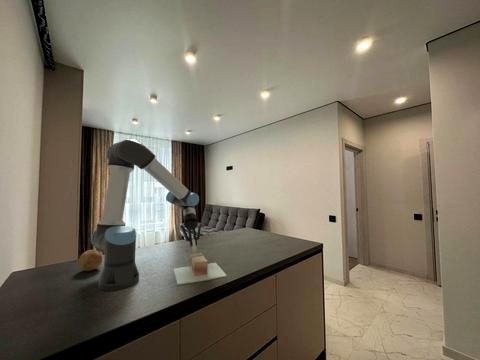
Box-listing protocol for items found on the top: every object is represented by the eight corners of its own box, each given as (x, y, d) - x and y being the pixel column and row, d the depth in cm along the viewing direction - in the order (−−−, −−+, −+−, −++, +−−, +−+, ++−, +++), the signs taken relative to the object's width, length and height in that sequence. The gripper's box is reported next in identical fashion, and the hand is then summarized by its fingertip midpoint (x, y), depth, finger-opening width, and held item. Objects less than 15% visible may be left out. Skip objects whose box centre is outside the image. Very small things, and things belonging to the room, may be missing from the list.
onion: (103, 265, 108) (104, 246, 108) (99, 272, 99) (99, 251, 99) (81, 268, 104) (82, 248, 105) (74, 275, 95) (75, 253, 95)
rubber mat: (173, 269, 102) (173, 268, 102) (215, 263, 111) (215, 262, 111) (177, 285, 86) (177, 283, 86) (226, 276, 94) (226, 275, 94)
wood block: (189, 253, 107) (194, 263, 93) (200, 252, 109) (207, 261, 96) (189, 265, 107) (194, 276, 93) (200, 263, 109) (207, 274, 95)
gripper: (199, 219, 131) (205, 253, 115) (178, 220, 126) (181, 256, 110) (201, 212, 126) (207, 246, 110) (179, 213, 121) (182, 248, 105)
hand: (194, 251), depth 110 cm, fingers closed
